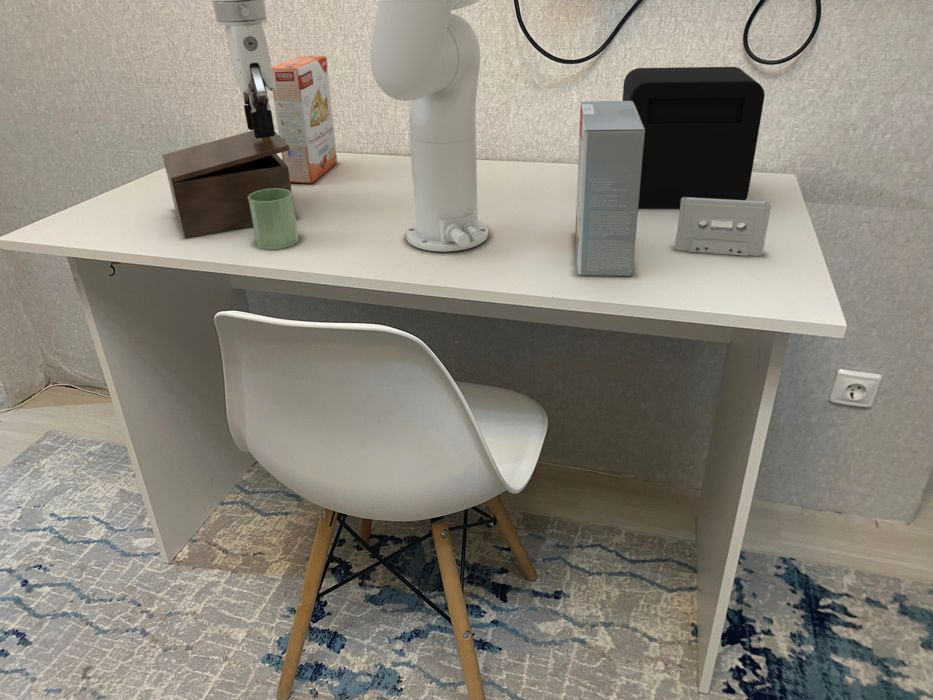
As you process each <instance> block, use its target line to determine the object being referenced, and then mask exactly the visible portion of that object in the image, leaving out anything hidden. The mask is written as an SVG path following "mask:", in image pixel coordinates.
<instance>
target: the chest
mask: <svg viewBox="0 0 933 700" xmlns="http://www.w3.org/2000/svg"><path fill="white" fill-rule="evenodd" d="M163 164H164V168H165V172H166V176H167V180H168V184H169V189H170V193H171V197H172V201H173V206H174V210H175V213H176V216H177V220H178V222H179V225H180V228H181V231H182V234H183V237H184V239H189V238H193V237H194V238H195V237H200V236H206V235H211V234H219V233H223V232H230V231H235V230H241V229H246V228H253V225H252V219H251V214H250V209H249V203H248V198H247V197H248V196H249V194H251V193H253V192H255V191H259V190H263V189H270V188H281V189H287V190H290V191H291V193H292V194H293V191H292V185H291V183H292V182H290V177H289V170H288V166H287V165H286V164H285V163H284V162H283V160H282V157H280V156H279V155H278V154H274V155H271V156H267V157H263V158H260V159H256V160H253V161H249V162H246V163H242V164H238V165H235V166H231V167H228V168H224V169H221V170H217V171H213V172H210V173H206V174H203V175H199V176H196V177H192V178H188V179H185V180H181V181H178V182H174V183H172V181H171V179H170V176H169V173H168V170H167V168H166V165H165V162H164V161H163ZM292 198H293V199H294V196H293V195H292ZM293 205H294V206H295V203H294V202H293ZM294 211H295V212H296V210H295V209H294ZM295 218H296V219H297V215H295Z"/></svg>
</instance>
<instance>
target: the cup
mask: <svg viewBox="0 0 933 700" xmlns="http://www.w3.org/2000/svg"><path fill="white" fill-rule="evenodd" d="M292 196H293V192H292V193H291V191H290V190H287V189H281V188H270V189H263V190H259V191H255V192H253V193H251V194H249V196H248V197H247V198H248V203H249V209H250V214H251V219H252V225H253V227H252V229H253V234H254V240H255V245H256V246H257V247H258V248H259V249H263V250H270V251H271V250H283V249H287V248H289V247H291V246H292V247H293V246H294V245H296V244H297V243H298V241H299V231H298V226H297V225H298V224H297V217H296V218H295V216H296V210H295V204H294V205H293V203H294V197H293V198H292ZM294 210H295V211H294Z"/></svg>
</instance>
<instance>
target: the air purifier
mask: <svg viewBox="0 0 933 700" xmlns="http://www.w3.org/2000/svg"><path fill="white" fill-rule="evenodd" d="M622 88H623V89H622V100H621V101H633V103H634V104H635V106H636V109H637V111H638V114H639V116H640V119H641V121H642V124H643V126H644V129H645V135H644V146H643V157H642V168H641V180H640V192H639V204H638V209H680V204H681V199H682V198H683V197H691V198H709V199H727V200H745V201H747V199H748V197H749V192H750V186H751V179H752V175H753V167H754V162H755V155H756V149H757V144H758V139H759V133H760V126H761V120H762V114H763V107H764V102H765V89H764V87H763V86H762V85H761V84H760V83H759V82H758V81H756V80H755V79H754V78H753V77H752V76H750V75H749V74H748V73H746V72H745V71H744V70H742V69H741V68H740V67H737V66H694V67H692V66H689V67H688V66H687V67H685V66H684V67H683V66H681V67H636V68H633V69H632V70H630V71H629V72H628V73H627V74H626V76H625V78H624V80H623V87H622Z"/></svg>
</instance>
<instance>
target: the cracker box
mask: <svg viewBox="0 0 933 700" xmlns="http://www.w3.org/2000/svg"><path fill="white" fill-rule="evenodd" d="M328 70H329V69H328V59H327V56H325V55H298V56H297V57H294V58H291V59H289V60H285V61H283V62H281V63H279V64H275V65H273V66H272V71H273V76H274V81H275V87H276V88H275V90H274V91H272V97H273V104H274V110H275V118H276V124H277V133H278V135H279V136H280V137H281V138H282V139H283V140H284V141H285V142H286V144H287V145H288V146H289V149H290V150H288V151H285V152H281V153H280V154H281V159H282V160H283V162H284V163H285V164H286V165H287V166H288V170H289V177H290V183H295V184H296V183H297V184H313V183H314V182H315V181H317V180H318V179H319V178H320V177H322V176H323V175H324V174H325V173H327V172H328V171H329V170H331V169H332V168H333V167H334V166H336V165H337V164H338V157H337V150H336V138H335V129H334V119H333V110H332V100H331V89H330V81H329V80H330V79H329V71H328Z"/></svg>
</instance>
